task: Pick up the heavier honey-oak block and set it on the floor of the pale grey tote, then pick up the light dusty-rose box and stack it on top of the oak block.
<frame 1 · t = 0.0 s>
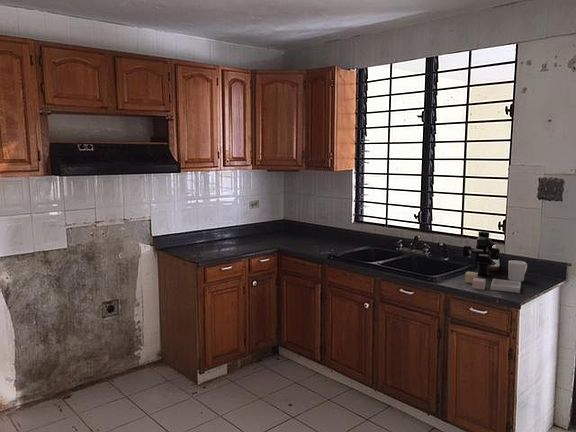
hand: (479, 255, 260), 17 cm above the counter, tool horizontal, fingers open, 9 cm apart
tote: (505, 287, 257), on the counter
oak block: (471, 282, 268), on the counter
rose box: (478, 287, 257), on the counter
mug: (517, 280, 273), on the counter
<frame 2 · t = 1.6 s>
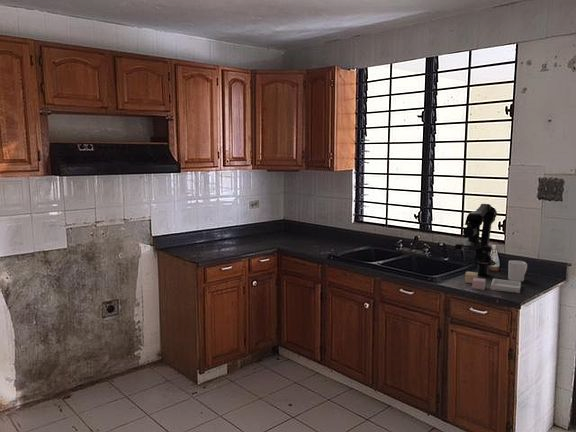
hand: (472, 262, 267), 11 cm above the counter, tool pointing down, fingers open, 9 cm apart
nothing on the counter moved.
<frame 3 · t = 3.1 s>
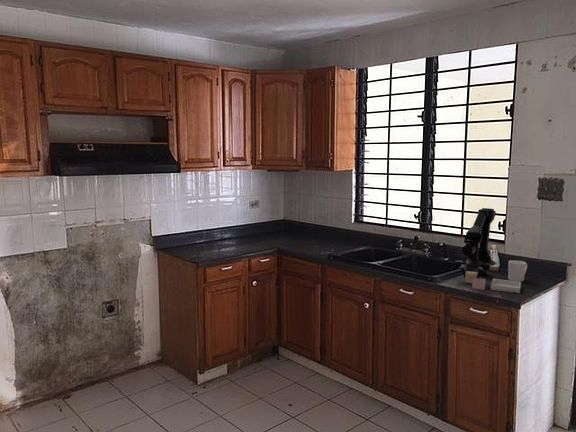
hand: (471, 280, 268), 1 cm above the counter, tool pointing down, fingers closed on oak block, 6 cm apart
oak block: (471, 281, 268), on the counter, touching gripper
everything else where it was.
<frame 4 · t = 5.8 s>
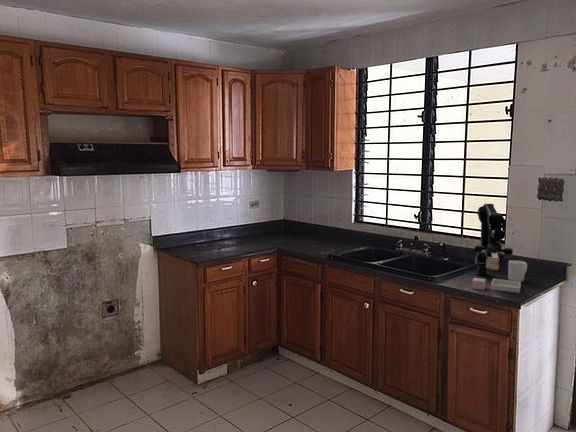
hand: (492, 265, 260), 11 cm above the counter, tool pointing down, fingers closed on oak block, 6 cm apart
oak block: (492, 267, 260), point 10 cm above the counter, touching gripper
everything else where it was.
when the fingers open (3 cm above the counter, at t = 8.4 s): oak block drops 1 cm, resting on tote.
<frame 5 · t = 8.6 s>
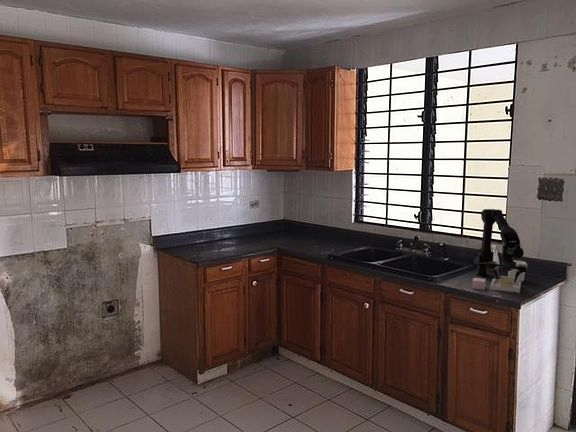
hand: (506, 282, 256), 3 cm above the counter, tool pointing down, fingers open, 8 cm apart
oak block: (505, 287, 257), resting on tote
everything else where it was.
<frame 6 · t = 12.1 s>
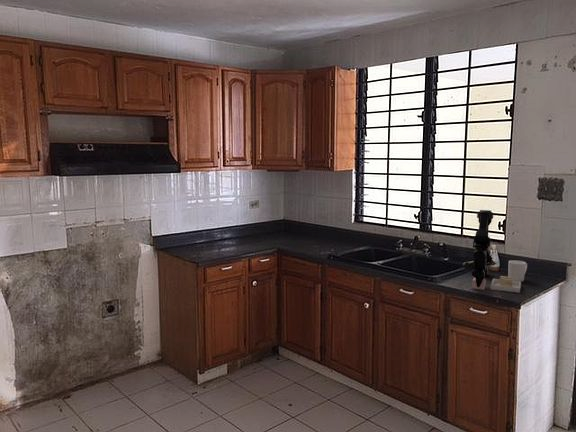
hand: (478, 285, 257), 1 cm above the counter, tool pointing down, fingers closed on rose box, 6 cm apart
rose box: (478, 287, 257), on the counter, touching gripper
everything else where it was.
when the fingers open (8 cm above the counter, at t = 16.0 s): rose box drops 1 cm, resting on oak block.
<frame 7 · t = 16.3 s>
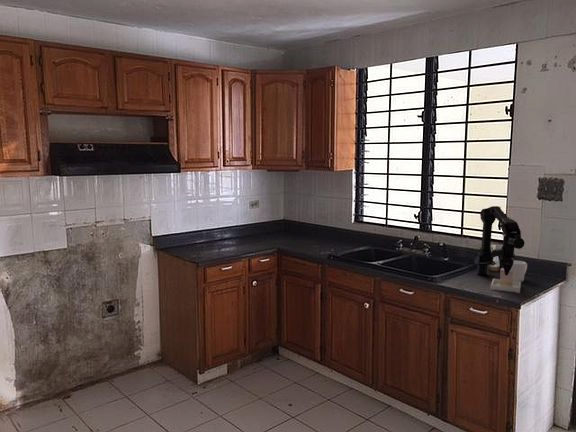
hand: (506, 273, 256), 8 cm above the counter, tool pointing down, fingers open, 9 cm apart
oak block: (505, 287, 257), resting on tote, touching rose box
rose box: (506, 277, 256), point 5 cm above the counter, touching oak block
everything else where it was.
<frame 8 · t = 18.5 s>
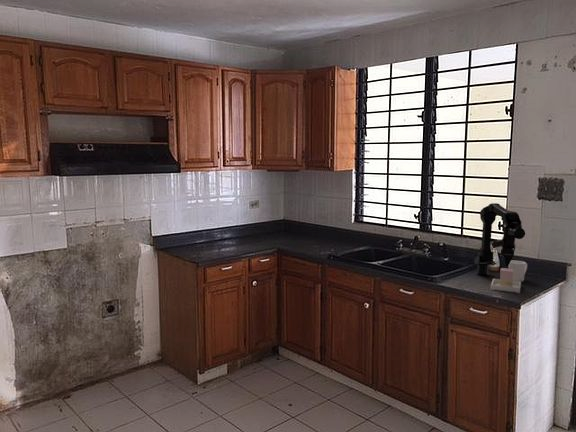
hand: (507, 264, 255), 13 cm above the counter, tool pointing down, fingers open, 9 cm apart
nothing on the counter moved.
at the end: oak block inside the target area on the tote (0.0 cm from its centre), point 0.5 cm above the tote's base; rose box 0.0 cm off-centre on the oak block, point 5.0 cm above the oak block's base; rose box tilted 0° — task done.
